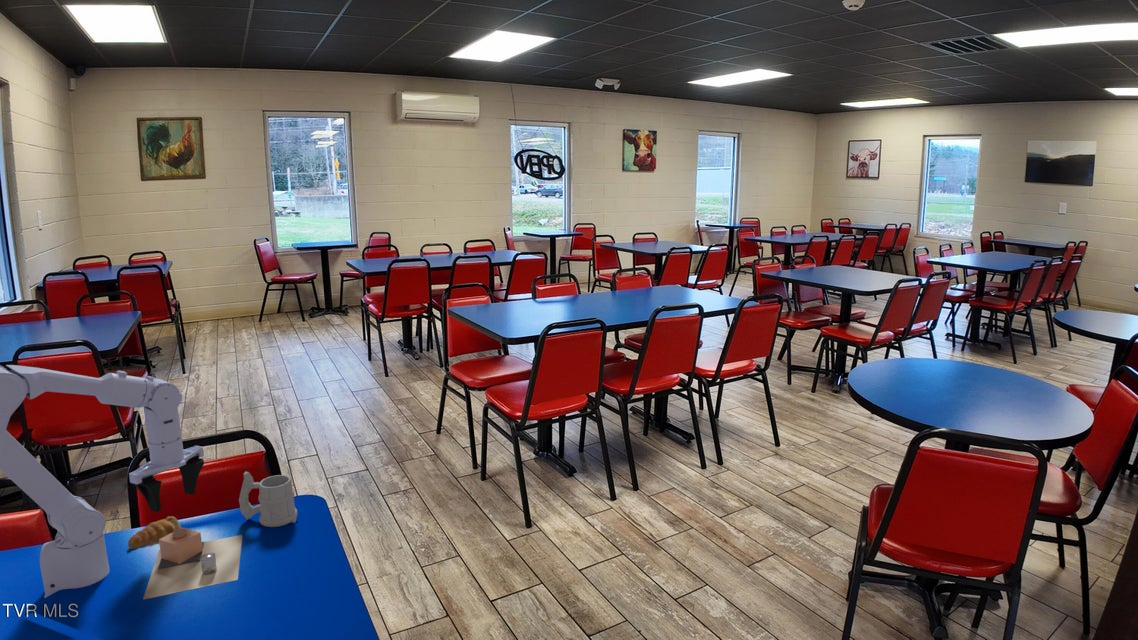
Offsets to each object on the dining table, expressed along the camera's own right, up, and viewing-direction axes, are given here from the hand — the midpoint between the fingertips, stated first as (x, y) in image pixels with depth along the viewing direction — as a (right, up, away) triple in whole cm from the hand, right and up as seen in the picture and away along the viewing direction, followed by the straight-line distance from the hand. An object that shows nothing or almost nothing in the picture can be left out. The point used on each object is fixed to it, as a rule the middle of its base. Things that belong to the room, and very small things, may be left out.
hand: (173, 501), depth 134 cm
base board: (+9, -11, -7) cm, 15 cm away
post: (+12, -12, -9) cm, 19 cm away
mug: (+15, -8, +10) cm, 20 cm away
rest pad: (+4, -10, -4) cm, 12 cm away
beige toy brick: (+4, -9, -4) cm, 11 cm away
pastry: (-5, -9, +4) cm, 11 cm away
